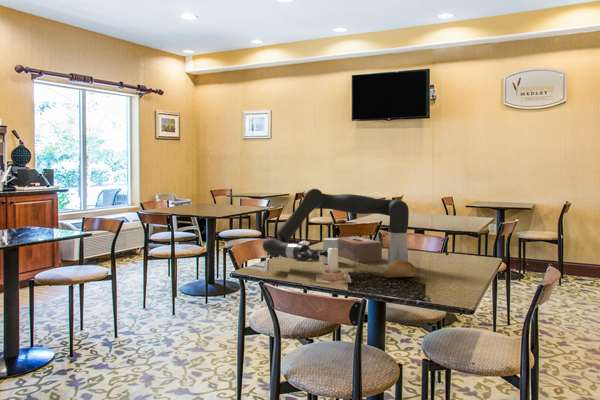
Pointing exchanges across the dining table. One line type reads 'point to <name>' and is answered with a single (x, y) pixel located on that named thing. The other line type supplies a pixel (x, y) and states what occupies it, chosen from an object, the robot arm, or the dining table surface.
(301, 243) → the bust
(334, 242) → the supplement box
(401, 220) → the robot arm
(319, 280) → the birch board
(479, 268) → the dining table surface
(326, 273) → the terracotta dish
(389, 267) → the bread roll
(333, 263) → the cream candle
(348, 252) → the tissue box cover
